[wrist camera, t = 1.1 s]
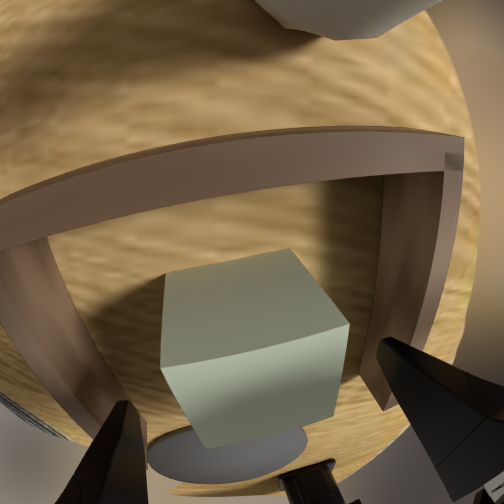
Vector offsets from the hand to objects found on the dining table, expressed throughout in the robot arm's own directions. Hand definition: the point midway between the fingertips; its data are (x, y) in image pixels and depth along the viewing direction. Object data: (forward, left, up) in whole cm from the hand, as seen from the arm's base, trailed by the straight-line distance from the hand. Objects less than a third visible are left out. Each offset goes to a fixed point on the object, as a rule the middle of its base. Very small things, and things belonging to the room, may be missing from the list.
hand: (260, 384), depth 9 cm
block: (0, 0, -4) cm, 4 cm away
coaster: (-15, +3, -4) cm, 16 cm away
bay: (0, 0, -4) cm, 4 cm away
